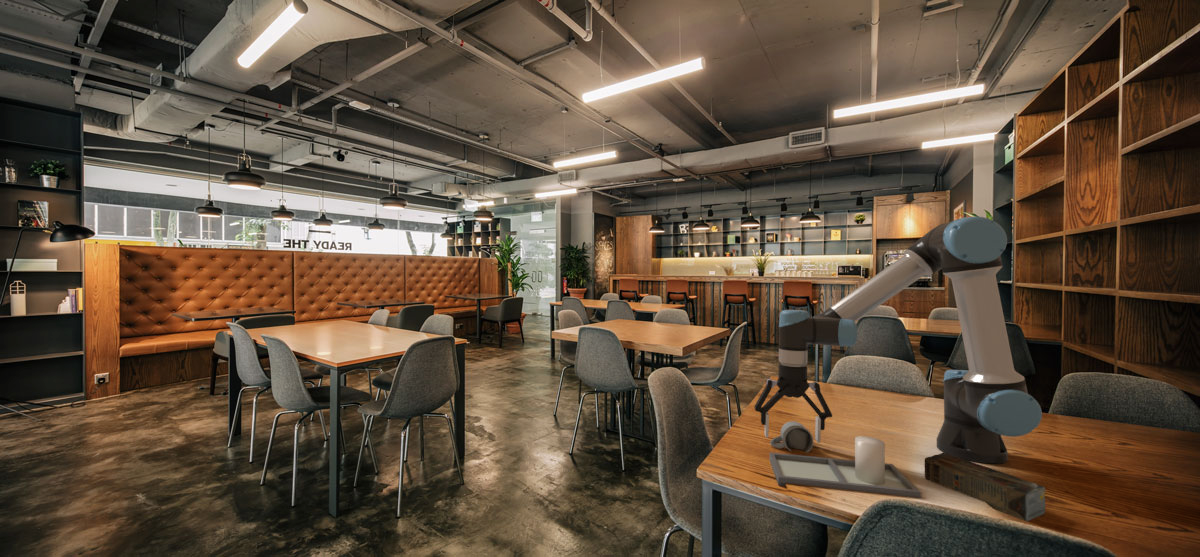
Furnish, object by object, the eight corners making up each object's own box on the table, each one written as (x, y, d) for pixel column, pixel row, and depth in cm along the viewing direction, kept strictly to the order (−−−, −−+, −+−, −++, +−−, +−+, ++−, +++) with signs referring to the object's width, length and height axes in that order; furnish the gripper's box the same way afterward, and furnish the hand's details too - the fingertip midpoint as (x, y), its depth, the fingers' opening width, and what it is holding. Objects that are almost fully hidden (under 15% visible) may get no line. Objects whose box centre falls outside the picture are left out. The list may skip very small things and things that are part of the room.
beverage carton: (1027, 523, 85) (1026, 490, 86) (922, 482, 103) (921, 455, 103) (1047, 515, 89) (1046, 483, 89) (941, 476, 106) (941, 450, 106)
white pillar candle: (879, 474, 105) (878, 437, 105) (889, 485, 99) (888, 446, 99) (851, 471, 106) (851, 435, 106) (860, 482, 101) (859, 444, 101)
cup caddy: (892, 472, 108) (892, 464, 108) (920, 501, 94) (920, 492, 94) (769, 459, 115) (769, 452, 115) (778, 485, 101) (778, 477, 101)
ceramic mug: (805, 445, 126) (805, 418, 126) (814, 456, 118) (813, 427, 118) (767, 443, 128) (767, 417, 128) (773, 453, 120) (772, 426, 120)
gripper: (837, 364, 123) (836, 438, 123) (745, 359, 130) (744, 429, 129) (845, 369, 116) (844, 448, 116) (748, 363, 122) (747, 438, 122)
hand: (791, 438), depth 123 cm, fingers open, 13 cm apart
